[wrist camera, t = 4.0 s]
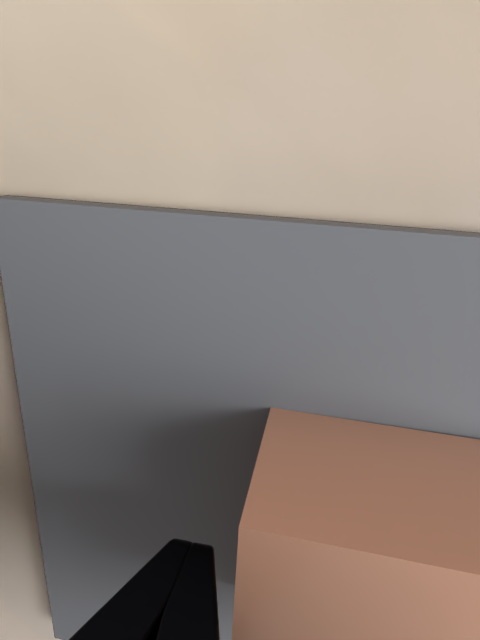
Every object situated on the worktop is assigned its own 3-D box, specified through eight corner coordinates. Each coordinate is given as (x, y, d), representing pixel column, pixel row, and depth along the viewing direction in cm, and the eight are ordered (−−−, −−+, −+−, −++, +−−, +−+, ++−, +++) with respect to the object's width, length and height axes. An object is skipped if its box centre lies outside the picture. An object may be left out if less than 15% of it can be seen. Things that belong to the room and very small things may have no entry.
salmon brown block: (254, 591, 11) (224, 746, 8) (270, 407, 9) (239, 525, 6) (483, 642, 10) (540, 837, 7) (554, 451, 8) (668, 612, 5)
